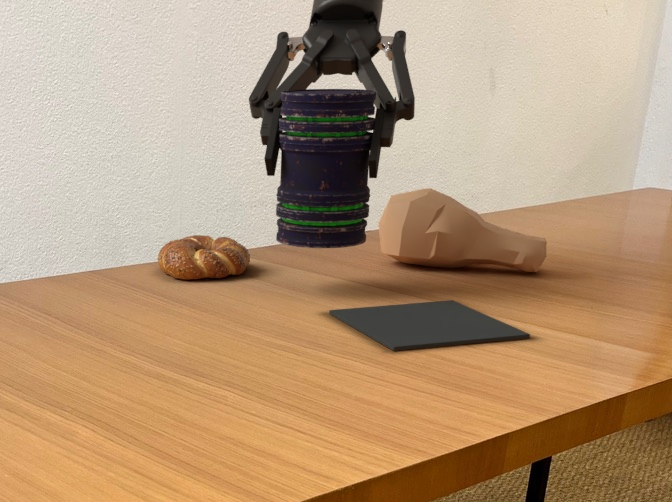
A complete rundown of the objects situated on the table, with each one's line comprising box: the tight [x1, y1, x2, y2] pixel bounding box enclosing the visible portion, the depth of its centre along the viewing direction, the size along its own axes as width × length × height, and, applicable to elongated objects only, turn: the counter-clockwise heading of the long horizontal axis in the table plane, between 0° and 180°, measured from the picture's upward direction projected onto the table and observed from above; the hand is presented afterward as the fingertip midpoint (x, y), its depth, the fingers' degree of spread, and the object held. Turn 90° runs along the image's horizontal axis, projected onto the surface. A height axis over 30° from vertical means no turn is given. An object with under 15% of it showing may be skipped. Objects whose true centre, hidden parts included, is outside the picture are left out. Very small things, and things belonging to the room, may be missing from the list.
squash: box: [378, 187, 548, 273], centre depth 125 cm, size 11×20×9 cm, turn 66°
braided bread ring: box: [157, 234, 251, 280], centre depth 124 cm, size 12×11×4 cm
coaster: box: [329, 299, 531, 352], centre depth 102 cm, size 14×14×1 cm
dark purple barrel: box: [275, 88, 376, 249], centre depth 111 cm, size 10×10×15 cm
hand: (320, 168), depth 108 cm, fingers closed on dark purple barrel, 10 cm apart
